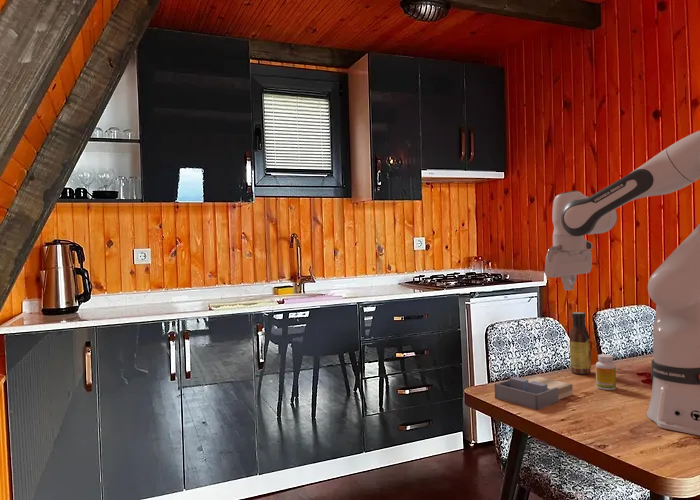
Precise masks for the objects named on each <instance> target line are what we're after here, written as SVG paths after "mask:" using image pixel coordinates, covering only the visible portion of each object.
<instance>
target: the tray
mask: <svg viewBox="0 0 700 500" xmlns="http://www.w3.org/2000/svg"><path fill="white" fill-rule="evenodd" d="M494 398H495V399H498V400H501V401H506V402H507V403H511V404H515V405H519V406H522V407H525V408H530V409H532V410H537V411H539V410H541V409H544V408H546V407H550V406H551V405H555V404H557V403H559V400H558V388H557V387H556V388H553V389H550V390H547V391H544V392H541V393H539V394H534V393H530V392H526V391H522V390H518V389H514V388H511V387H510V378H509V379H507V380H503V381H500V382H498V383H497V382H496V383H495V384H494Z"/></svg>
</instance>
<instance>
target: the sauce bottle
mask: <svg viewBox="0 0 700 500" xmlns="http://www.w3.org/2000/svg"><path fill="white" fill-rule="evenodd" d="M571 317H572V328H571V329H570V331H569V362H570V364H569V365H570V371H571V373H573V374H575V375H588V374H590V373H591V368H592V361H591V343H590V342H591V341H590V340H591V337H590V335H589V332H588V328H587V327H586V319H585V318H586V313H585V312H582V311H574V312H572V313H571Z"/></svg>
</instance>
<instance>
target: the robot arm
mask: <svg viewBox="0 0 700 500" xmlns="http://www.w3.org/2000/svg"><path fill="white" fill-rule="evenodd" d="M698 180H700V130H697V131H694V132H693V133H690V134H688V135H687V136H685V137H683V138H681V139H679V140H677V141H676V142H674V143H673V144H671V145H669V146H668V147H666V148H665V149H663V150H662V151H660V152H658V153H657V154H656V155H654V156H652V158H650V159H648V160H647V161H646V162H644V163H643V164H642V165H640V166H639V167H637V168H635V169H634V170H632V171H631V172H630V173H628V174H626V175H625V176H623V177H621V178H620V179H617V180H616V181H614V182H613V183H611V184H609V185H607V186H606V187H604V188H602V189H601V190H599V191H598V192H595V193H593V194H592V195H590V196H587V195H585V194H583V193H582V192H581V191H579V190H571V191H564V192H561V193H559V194H557V195H556V196H554V199H553V202H552V216H551V218H552V225H553V231H552V232H553V233H552V245H551V246H550V247H549V249H548V250H547V253H546V256H545V260H544V261H545V262H544V263H545V264H544V274H545V275H544V276H546V277H547V278H560V280H561V283H562V285H563V290H564V291H574V290H575V283H576V281H577V275H584V274H590V273H591V271H592V268H593V254H592V253H593V252H592V250H593V246H594V245H593V242H591V241H589V240H588V239H586V238H585V236H586V235H597V234H605V233H607V232H609V231H611V230H612V229H614V227H615V226H616V225H617V222H618V212H617V209H619V208H620V207H622V206H624V205H626V204H627V203H630V202H632V201H636V200H639V199H643V198H647V197H648V198H649V197H655V196H664V195H669V194H672V193H675V192H677V191H680V190H682V189H684V188H686V187H688V186H690V185H692V184H693V183H695V182H697V181H698ZM647 292H648V293H647V294H648V295H649V298H650V300H651V301H653V303H654V304H655V316H654V324H653V327H652V349H653V351H652V352H653V353H652V354H653V357H652V360H651V363H650V364H651V367H650V369H651V370H650V374H651V375H650V376H651V381H652V388H651V395H650V396H651V397H650V401H649V404H648V405H649V406H648V408H647V412H646V416H647V418H648V419H650V420H651V421H652V422H655V423H656V425H657V426H658V427H659V428H661V429H665V430H671V431H675V432H681V433H686V434H689V435H695V436H700V223H699V224H698V225H697V226H695V228H694V230H692V232H690V234H688V236H687V237H686V238H685V239H684V240H683V241H682V242H681V243H680V244H679V245H678V246H676V248H675V249H674V250H673V251H672V252H671V254H669V256H667V257H666V258H665V260H664V261H663V262H662V263H661V264H660V265H659V266H658V267H657V268H656V269H655V271H654V272H653V273H651V275H650V277H649V280H648V282H647Z"/></svg>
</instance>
